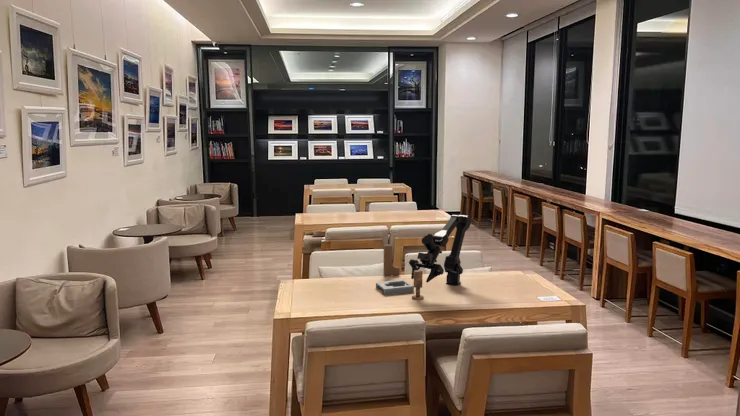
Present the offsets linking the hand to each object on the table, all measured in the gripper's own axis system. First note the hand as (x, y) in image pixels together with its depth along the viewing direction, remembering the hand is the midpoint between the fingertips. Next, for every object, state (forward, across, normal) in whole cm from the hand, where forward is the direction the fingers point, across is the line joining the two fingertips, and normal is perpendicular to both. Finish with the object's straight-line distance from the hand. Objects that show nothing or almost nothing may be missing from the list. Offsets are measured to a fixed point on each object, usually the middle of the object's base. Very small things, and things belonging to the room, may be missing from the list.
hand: (419, 280), depth 273 cm
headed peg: (+7, 0, +6) cm, 9 cm away
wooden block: (-11, -37, +24) cm, 45 cm away
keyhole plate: (+5, -18, +8) cm, 20 cm away
